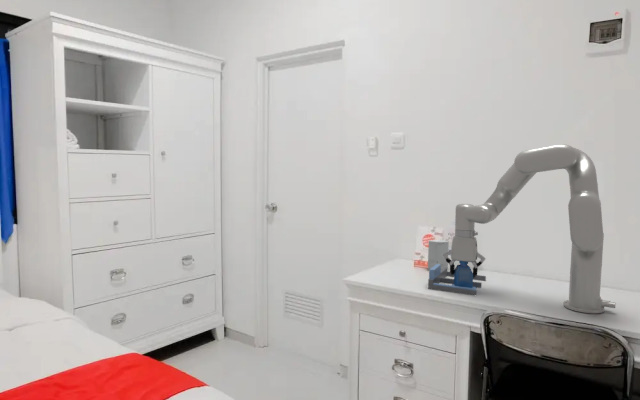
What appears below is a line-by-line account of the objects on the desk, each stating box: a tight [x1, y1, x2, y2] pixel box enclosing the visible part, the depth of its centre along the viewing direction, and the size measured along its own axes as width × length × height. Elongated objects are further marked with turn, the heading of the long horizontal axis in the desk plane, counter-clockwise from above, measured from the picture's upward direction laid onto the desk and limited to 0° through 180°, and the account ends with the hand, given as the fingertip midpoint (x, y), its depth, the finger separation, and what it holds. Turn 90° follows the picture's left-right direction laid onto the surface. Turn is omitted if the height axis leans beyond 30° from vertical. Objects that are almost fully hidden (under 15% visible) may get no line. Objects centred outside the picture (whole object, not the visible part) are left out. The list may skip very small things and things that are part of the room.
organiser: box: [427, 264, 487, 296], centre depth 186 cm, size 19×27×8 cm
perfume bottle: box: [453, 261, 474, 288], centre depth 178 cm, size 6×6×12 cm
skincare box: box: [427, 239, 450, 271], centre depth 211 cm, size 8×6×15 cm
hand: (463, 275), depth 178 cm, fingers closed on perfume bottle, 8 cm apart
